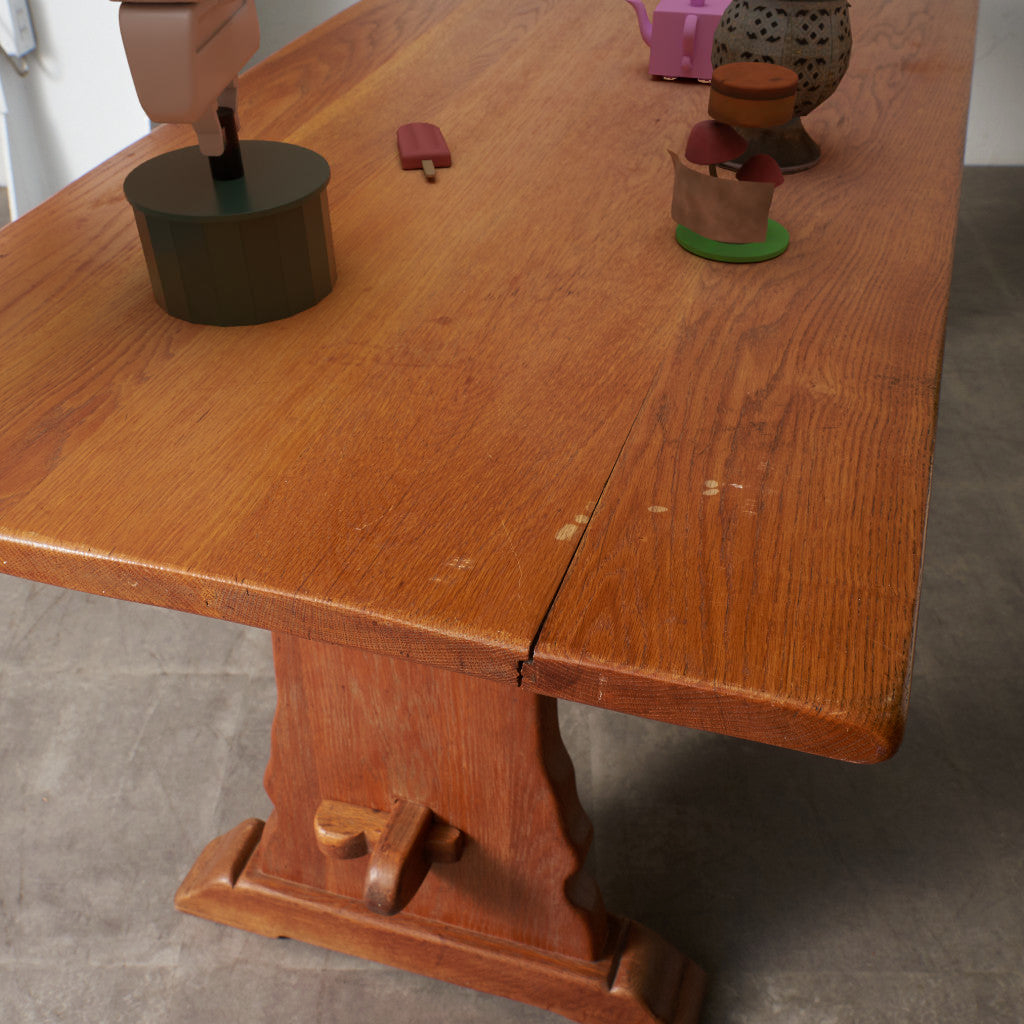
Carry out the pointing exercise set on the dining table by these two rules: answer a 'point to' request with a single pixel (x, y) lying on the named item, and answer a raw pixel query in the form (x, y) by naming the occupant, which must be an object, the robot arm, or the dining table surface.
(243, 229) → the bin
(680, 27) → the teapot
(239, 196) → the lid
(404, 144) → the popsicle
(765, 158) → the mushroom toy stack
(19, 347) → the dining table surface
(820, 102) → the lantern
